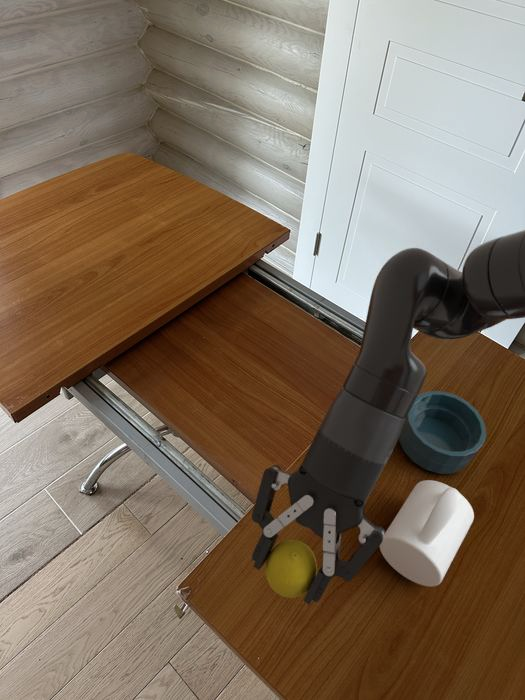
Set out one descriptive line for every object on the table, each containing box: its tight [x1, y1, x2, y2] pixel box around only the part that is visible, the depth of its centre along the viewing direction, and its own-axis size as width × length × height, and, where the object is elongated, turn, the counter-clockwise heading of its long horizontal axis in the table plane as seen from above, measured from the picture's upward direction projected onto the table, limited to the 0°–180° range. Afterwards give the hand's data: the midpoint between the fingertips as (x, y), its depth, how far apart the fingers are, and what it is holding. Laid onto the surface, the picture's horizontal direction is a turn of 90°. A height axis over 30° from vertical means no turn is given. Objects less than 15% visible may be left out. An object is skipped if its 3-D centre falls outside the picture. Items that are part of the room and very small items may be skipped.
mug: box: [379, 479, 475, 588], centre depth 65 cm, size 8×10×12 cm
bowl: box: [398, 390, 487, 475], centre depth 78 cm, size 11×12×6 cm
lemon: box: [265, 539, 318, 599], centre depth 56 cm, size 6×6×8 cm
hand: (283, 582), depth 54 cm, fingers closed on lemon, 5 cm apart
